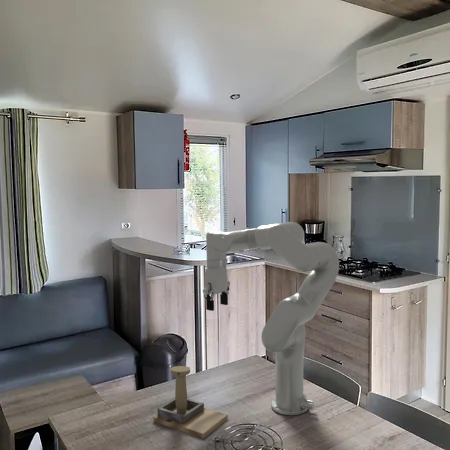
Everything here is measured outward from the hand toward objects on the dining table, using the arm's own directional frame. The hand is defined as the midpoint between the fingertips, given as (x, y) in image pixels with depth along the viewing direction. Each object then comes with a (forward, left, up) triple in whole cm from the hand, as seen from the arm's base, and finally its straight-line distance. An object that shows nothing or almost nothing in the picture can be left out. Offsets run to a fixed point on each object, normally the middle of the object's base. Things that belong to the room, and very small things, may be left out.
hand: (217, 307), depth 181 cm
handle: (-4, +29, -29) cm, 41 cm away
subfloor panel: (-8, +29, -30) cm, 43 cm away
